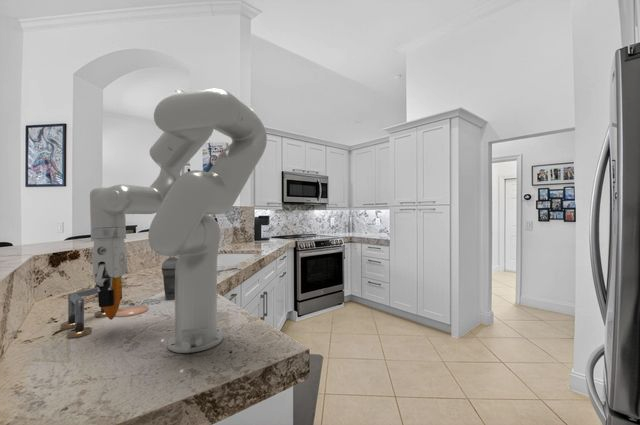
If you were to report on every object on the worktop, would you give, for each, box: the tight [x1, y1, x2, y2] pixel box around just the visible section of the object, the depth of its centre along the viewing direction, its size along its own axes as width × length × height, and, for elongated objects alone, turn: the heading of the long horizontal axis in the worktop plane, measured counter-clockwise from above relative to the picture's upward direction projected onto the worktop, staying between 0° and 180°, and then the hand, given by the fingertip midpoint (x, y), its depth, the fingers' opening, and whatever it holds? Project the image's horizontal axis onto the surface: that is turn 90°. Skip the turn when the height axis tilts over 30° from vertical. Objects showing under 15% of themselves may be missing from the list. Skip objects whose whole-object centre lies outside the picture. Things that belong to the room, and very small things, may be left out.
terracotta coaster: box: [114, 304, 150, 318], centre depth 94 cm, size 10×10×1 cm
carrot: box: [103, 276, 122, 320], centre depth 76 cm, size 5×5×15 cm
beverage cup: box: [160, 256, 178, 301], centre depth 110 cm, size 7×7×20 cm
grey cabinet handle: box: [60, 287, 108, 339], centre depth 83 cm, size 21×10×9 cm, turn 18°
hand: (110, 302), depth 76 cm, fingers closed on carrot, 4 cm apart
